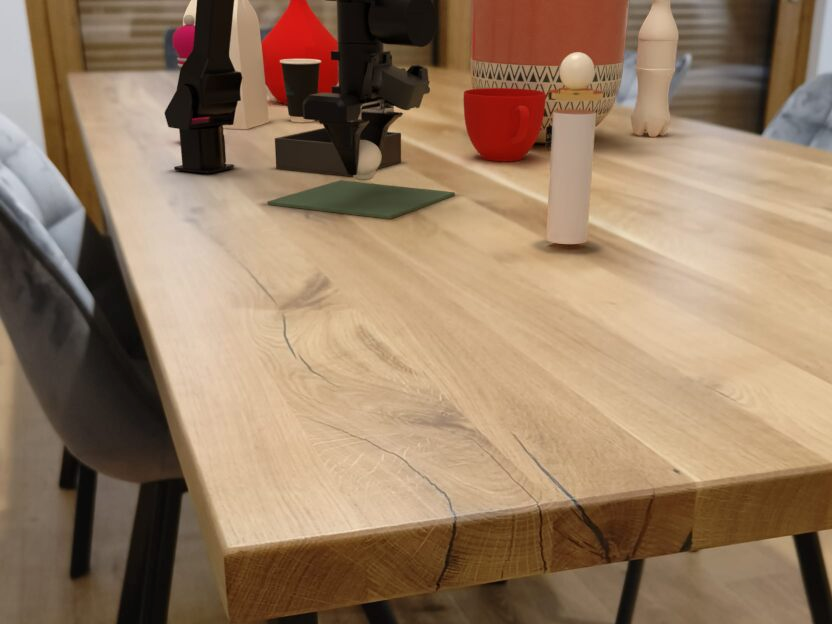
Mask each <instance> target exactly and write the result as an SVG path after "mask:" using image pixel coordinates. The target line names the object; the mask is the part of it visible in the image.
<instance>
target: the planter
mask: <svg viewBox="0 0 832 624" xmlns="http://www.w3.org/2000/svg"><path fill="white" fill-rule="evenodd" d="M630 1H631V0H470V82H471V87H472V88H471V89H483V88H514V89H529V90H537V91H542V92H545V94H546V100H545V109H544V116H543V122H542V126H541V130H540V133H539V135H538V137H537V140H536V141H535V143H534V144H545V142H546V127H548V126H552V118H553V111H555V110H564V109H577V110H589V111H594V112H596V122H595V128H597V127H598V126H599V125H600V124H601V123H602V122H603V121H604V120H605V119H606V118H607V117H608V115H609V114H610V113H611V111H612V109H613V107H614V106H615V103H616V100H617V98H618V95H619V92H620V88H621V85H622V79H623V71H624V62H625V53H626V51H625V50H626V45H627V44H626V43H627V42H626V41H627V33H628V32H627V31H628V22H629V21H628V19H629V8H630ZM574 52H581V53H584V54H586V55H588V56H589V57H590V58H591V60H592V62H593V64H594V69H595V72H594V77H593V79H592V81H591V83H590V84H589V85H588V86H587V87H586V88H590V89H594V90H596V91H601V92H603V99H599V100H559V99H552V98H549V97H548V91H549V90H556V89H558V88H566V86H565V85H564V84H563V83H562V81H561V79H560V75H559V70H560V66H561V63H562V61H563V60H564V59H565V57H567V56H568V55H569V54H571V53H574ZM547 137H548V138H549V135H547ZM550 137H551V136H550ZM549 142H550V141H549ZM546 143H548V142H546Z"/></svg>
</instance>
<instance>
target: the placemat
mask: <svg viewBox="0 0 832 624" xmlns="http://www.w3.org/2000/svg"><path fill="white" fill-rule="evenodd" d="M455 193H456V192H454V191H448V190H447V191H446V190H435V189H426V188H417V187H407V186H398V185H389V184H379V183H372V182H371V183H370V182H361V181H360V182H359V181H351V180H341V179H340V180H337V181H333V182H330V183H326V184H323V185H319V186H316V187H313V188H309V189H306V190H302V191H299V192H296V193H295V192H294V193H292V194H289V195H288V194H287V195H285V196H282V197H278V198H275V199H271V200H267V205H269V206H278V207H286V208H294V209H303V210H310V211H317V212H318V211H319V212H327V213H335V214H343V215H345V214H346V215H353V216H361V217H371V218H378V219H384V220H385V219H387V220H391V219H394V218H397V217H400V216H402V215H403V216H404V215H405V214H408V213H411V212H413V211H416V210H420V209H421V208H424V207H426V206H430V205H432V204H435V203H438V202H441V201H443V200H446V199H448V198H451V197H454V196H455V195H456V194H455Z"/></svg>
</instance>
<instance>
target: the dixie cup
mask: <svg viewBox="0 0 832 624" xmlns="http://www.w3.org/2000/svg"><path fill="white" fill-rule="evenodd" d="M280 63H281V65H282V72H283V79H284V86H285V92H286V99H287V104H286V105H287V110H288V111H287V113H288V116H289V118H290V122H293V123H312V122H316V120H309V119H304V118H303V102H304V100H305V99H306V98H307V97H308V95H312V94H318V85H319V70H320V63H321V60H315V59H284V60H280Z"/></svg>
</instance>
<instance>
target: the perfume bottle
mask: <svg viewBox="0 0 832 624" xmlns="http://www.w3.org/2000/svg"><path fill="white" fill-rule="evenodd" d="M594 72H595V69H594V64H593V62H592V60H591V58H590V57H589V56H588V55H586V54H584V53H581V52H574V53H571V54H569V55H568V56H567V57H565V59H564V60H563V61H562V63H561V66H560V70H559V75H560V79H561V81H562V83H563V84H564V85H565V86H566V88H558V89H556V90H549V91H548V97H549V98H552V99H559V100H599V99H603V92H601V91H596V90H594V89H590V88H586V87H587V86H588V85H589V84H590V83H591V81H592V79H593V77H594ZM595 122H596V112H594V111H589V110H577V109H564V110H555V111H553V118H552V126H548V127H546V142H548V143H546V142H545V143H544V145H545V146H544V147H545V148H547V151H549V150H550V158H549V178H548V194H547V195H548V197H547V214H546V233H545V240H546V241H547V242H549V243H554V244H560V245H561V244H562V245H579V244H584V243H587V242H588V236H589V220H590V209H591V207H590V206H591V194H592V193H591V192H592V179H593V178H592V177H593V166H594V165H593V163H594V151H595V150H594V147H595V134H596V127H595ZM547 135H549V138H548V137H547ZM550 136H551V137H550ZM549 141H550V142H549ZM549 145H550V148H549Z"/></svg>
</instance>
